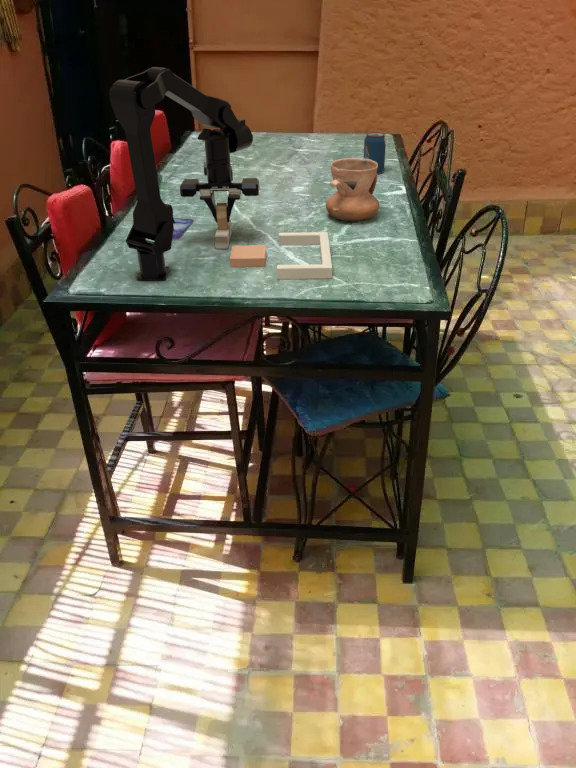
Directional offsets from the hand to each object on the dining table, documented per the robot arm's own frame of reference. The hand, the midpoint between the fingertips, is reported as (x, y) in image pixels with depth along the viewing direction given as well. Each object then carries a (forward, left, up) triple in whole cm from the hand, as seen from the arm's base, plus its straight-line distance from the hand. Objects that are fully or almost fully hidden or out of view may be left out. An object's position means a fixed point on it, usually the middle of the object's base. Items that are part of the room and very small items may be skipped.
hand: (222, 222), depth 158 cm
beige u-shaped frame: (-13, -19, -5) cm, 23 cm away
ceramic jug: (+17, -34, -5) cm, 38 cm away
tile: (-13, -7, -5) cm, 16 cm away
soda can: (+60, -44, -5) cm, 75 cm away
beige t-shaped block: (0, 0, -5) cm, 5 cm away
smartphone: (+8, +14, -5) cm, 17 cm away
